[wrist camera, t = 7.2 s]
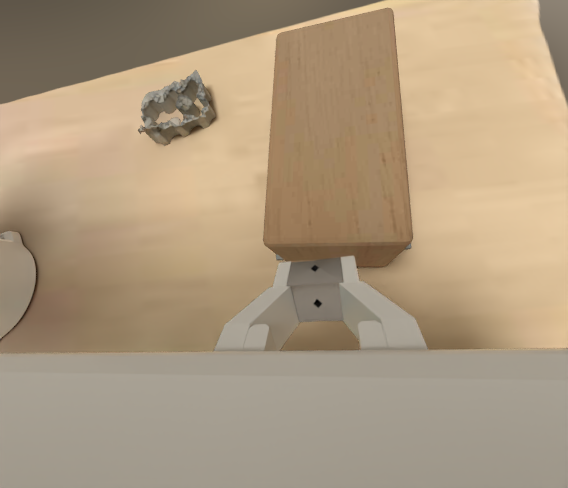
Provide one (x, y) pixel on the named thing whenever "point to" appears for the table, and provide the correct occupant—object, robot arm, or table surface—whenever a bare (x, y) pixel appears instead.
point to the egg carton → (172, 99)
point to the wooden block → (338, 144)
